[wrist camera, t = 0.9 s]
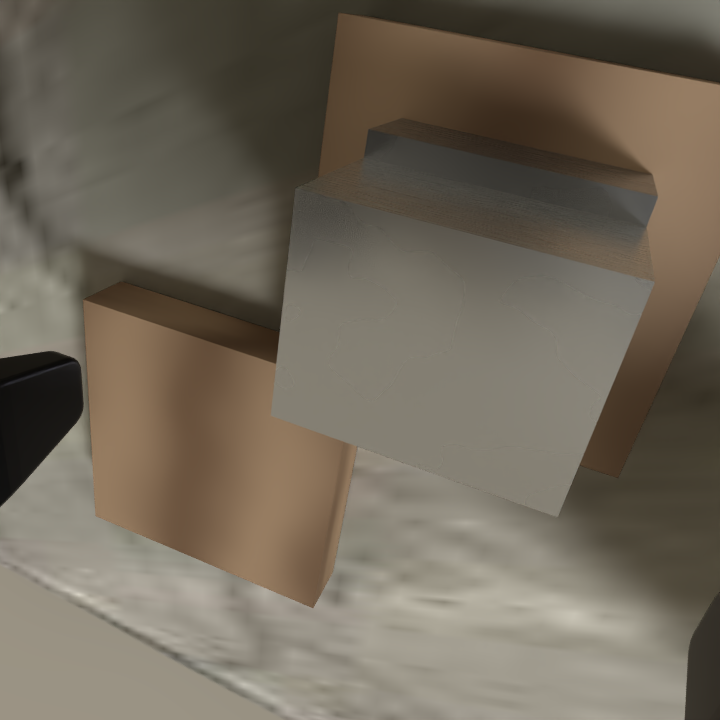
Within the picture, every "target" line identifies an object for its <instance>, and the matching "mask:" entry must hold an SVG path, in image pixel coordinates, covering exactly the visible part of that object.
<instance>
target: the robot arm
mask: <svg viewBox="0 0 720 720" xmlns="http://www.w3.org/2000/svg"><path fill="white" fill-rule="evenodd" d="M83 405H84V403H83V389H82V375H81V367H80V364H79V363H78V361H77V360H76V359H74V358H72V357H70V356H67V355H64V354H61V353H58V352H54V351H47V352H40V353H33V354H27V355H20V356H14V357H7V358H0V507H1V506H2V505H3V504H4V503H5V502H6V501H7V500H8V499H9V498H10V497H11V496H12V495H13V494H14V493H15V492H16V491H17V489H18V488H19V487H20V486H21V485H22V484H23V483H24V482H25V481H26V479H27V478H28V477H29V476H30V475H31V474H32V473H33V472H34V470H35V469H36V468H37V467H38V466H39V465H40V464H41V462H42V461H43V460H44V459H45V458H46V457H47V456H48V454H49V453H50V452H51V451H52V450H53V449H54V448H55V446H56V445H57V444H58V443H59V442H60V441H61V440H62V439H63V437H64V436H65V435H66V434H67V433H68V432H69V431H70V429H71V428H72V427H73V426H74V425H75V424H76V423H77V421H78V420H79V418H80V416H81V414H82V411H83ZM685 720H720V592H719V593H718V594H717V595H716V597H715V598H714V600H713V602H712V603H711V605H710V607H709V608H708V610H707V612H706V613H705V615H704V617H703V618H702V620H701V622H700V623H699V625H698V627H697V628H696V630H695V632H694V634H693V636H692V638H691V642H690V645H689V651H688V667H687V686H686V705H685Z"/></svg>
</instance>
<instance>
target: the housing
mask: <svg viewBox="0 0 720 720" xmlns="http://www.w3.org/2000/svg"><path fill="white" fill-rule="evenodd" d="M657 199H658V193H657V190H656V186H655V182H654V178H653V174H649V173H644V172H640V171H635V170H631V169H626V168H622V167H617V166H613V165H609V164H604V163H600V162H595V161H591V160H586V159H582V158H577V157H573V156H569V155H564V154H560V153H555V152H551V151H546V150H542V149H538V148H533V147H529V146H524V145H520V144H515V143H511V142H506V141H502V140H498V139H493V138H489V137H484V136H480V135H475V134H471V133H466V132H462V131H458V130H453V129H449V128H444V127H440V126H435V125H431V124H426V123H422V122H418V121H413V120H409V119H404V118H400V119H397V120H394V121H391V122H388V123H385V124H382V125H379V126H376V127H373V128H370V129H368V134H367V141H366V147H365V153H364V158H362V159H360V160H357V161H355V162H353V163H351V164H348V165H346V166H344V167H342V168H339V169H337V170H335V171H333V172H330V173H328V174H326V175H324V176H321V177H319V178H317V179H314V180H312V181H310V182H308V183H305V184H303V185H301V186H299V187H296V188H295V197H294V207H293V216H292V225H291V234H290V243H289V252H288V262H287V271H286V280H285V289H284V298H283V307H282V317H281V326H280V335H279V344H278V353H277V362H276V372H275V381H274V390H273V399H272V408H271V416H273V417H276V418H278V419H281V420H284V421H287V422H290V423H293V424H295V425H298V426H301V427H304V428H307V429H309V430H312V431H315V432H318V433H321V434H324V435H326V436H329V437H332V438H335V439H338V440H340V441H343V442H346V443H349V444H352V445H354V446H357V447H360V448H363V449H366V450H369V451H371V452H374V453H377V454H380V455H383V456H385V457H388V458H391V459H394V460H397V461H400V462H402V463H405V464H408V465H411V466H414V467H416V468H419V469H422V470H425V471H428V472H431V473H433V474H436V475H439V476H442V477H445V478H447V479H450V480H453V481H456V482H459V483H462V484H464V485H467V486H470V487H473V488H476V489H478V490H481V491H484V492H487V493H490V494H493V495H495V496H498V497H501V498H504V499H507V500H509V501H512V502H515V503H518V504H521V505H523V506H526V507H529V508H532V509H535V510H538V511H540V512H543V513H546V514H549V515H552V516H554V517H557V518H558V515H559V513H560V510H561V508H562V506H563V503H564V501H565V498H566V496H567V493H568V491H569V489H570V486H571V484H572V481H573V479H574V477H575V474H576V472H577V469H578V467H579V465H580V462H581V460H582V457H583V455H584V452H585V450H586V448H587V445H588V443H589V440H590V438H591V436H592V433H593V431H594V428H595V426H596V423H597V421H598V419H599V416H600V414H601V411H602V409H603V407H604V404H605V402H606V399H607V397H608V394H609V392H610V390H611V387H612V385H613V382H614V380H615V378H616V375H617V373H618V370H619V368H620V366H621V363H622V361H623V358H624V356H625V353H626V351H627V349H628V346H629V344H630V341H631V339H632V337H633V334H634V332H635V329H636V327H637V324H638V322H639V320H640V317H641V315H642V312H643V310H644V308H645V305H646V303H647V300H648V298H649V295H650V293H651V291H652V288H653V286H654V283H655V278H654V272H653V265H652V259H651V252H650V245H649V239H648V232H647V224H648V222H649V219H650V217H651V214H652V212H653V209H654V206H655V204H656V201H657Z"/></svg>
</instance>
